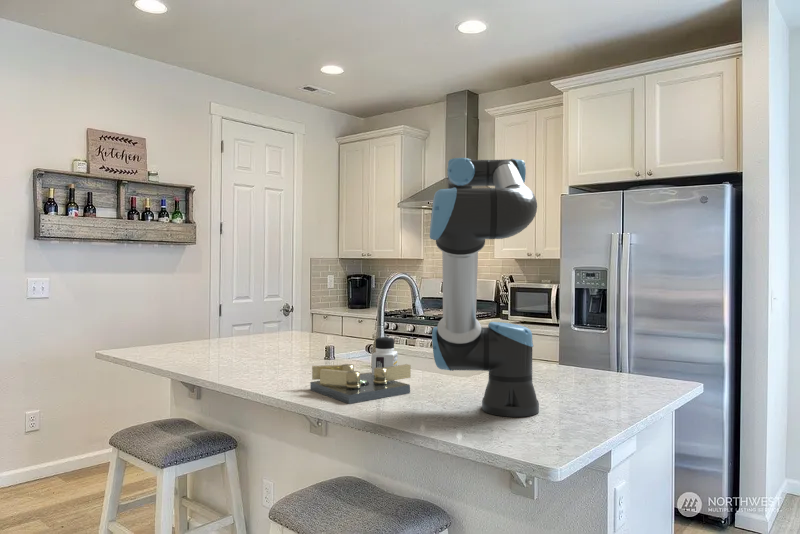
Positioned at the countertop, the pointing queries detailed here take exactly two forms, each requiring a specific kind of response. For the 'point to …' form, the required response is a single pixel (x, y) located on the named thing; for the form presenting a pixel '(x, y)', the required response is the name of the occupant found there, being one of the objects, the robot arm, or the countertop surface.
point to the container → (384, 353)
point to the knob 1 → (340, 378)
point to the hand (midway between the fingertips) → (459, 286)
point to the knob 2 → (391, 373)
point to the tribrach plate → (361, 390)
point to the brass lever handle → (333, 367)
